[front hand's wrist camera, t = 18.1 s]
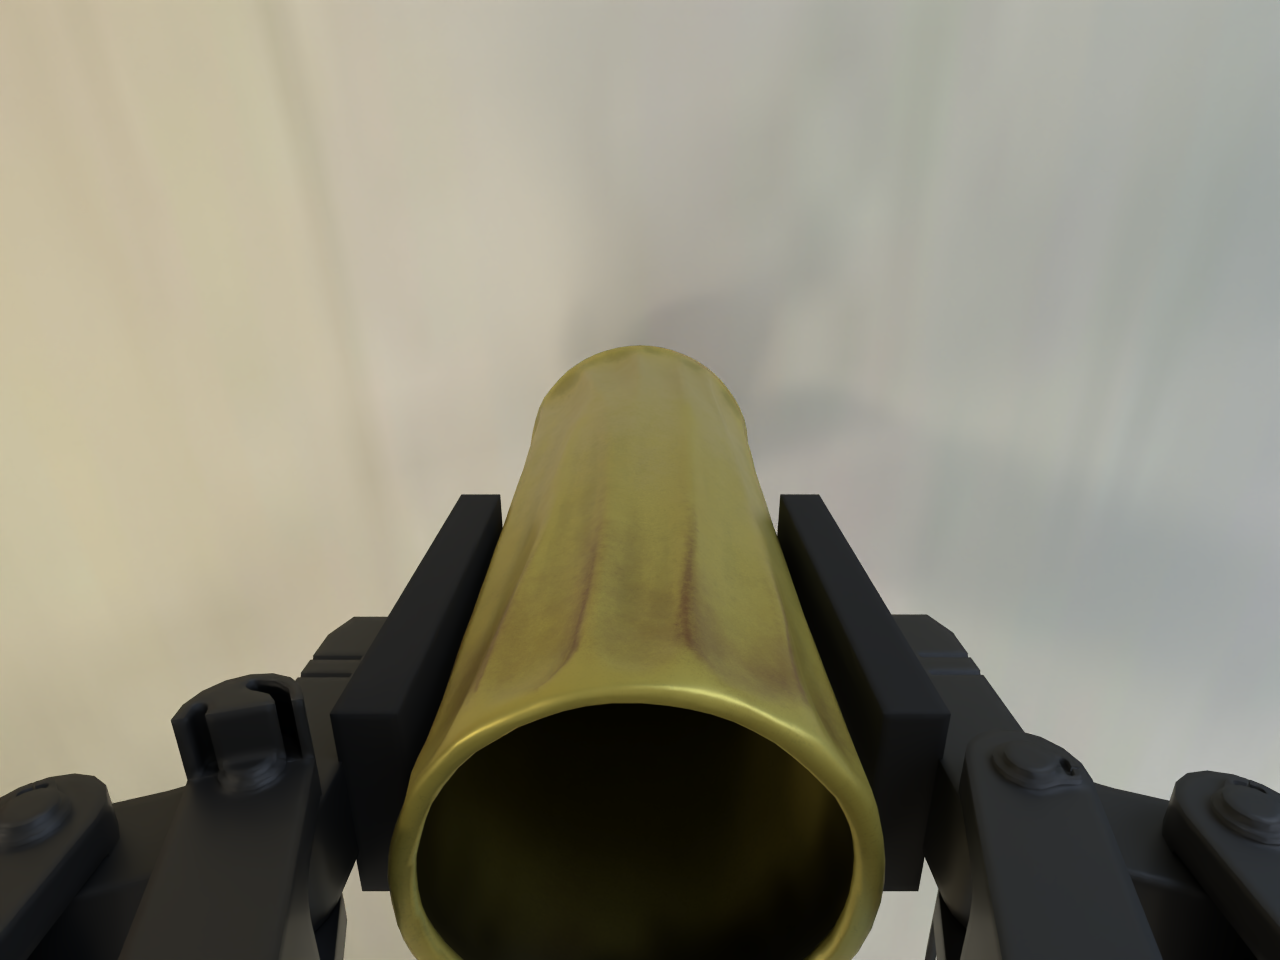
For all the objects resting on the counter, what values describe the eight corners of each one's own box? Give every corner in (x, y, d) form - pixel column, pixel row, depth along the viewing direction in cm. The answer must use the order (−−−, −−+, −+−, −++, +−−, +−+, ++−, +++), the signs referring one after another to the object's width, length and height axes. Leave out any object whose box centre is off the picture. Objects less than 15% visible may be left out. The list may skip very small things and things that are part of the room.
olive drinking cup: (536, 547, 22) (375, 1083, 9) (526, 342, 20) (289, 638, 6) (740, 548, 22) (893, 1087, 9) (752, 343, 20) (983, 642, 6)
